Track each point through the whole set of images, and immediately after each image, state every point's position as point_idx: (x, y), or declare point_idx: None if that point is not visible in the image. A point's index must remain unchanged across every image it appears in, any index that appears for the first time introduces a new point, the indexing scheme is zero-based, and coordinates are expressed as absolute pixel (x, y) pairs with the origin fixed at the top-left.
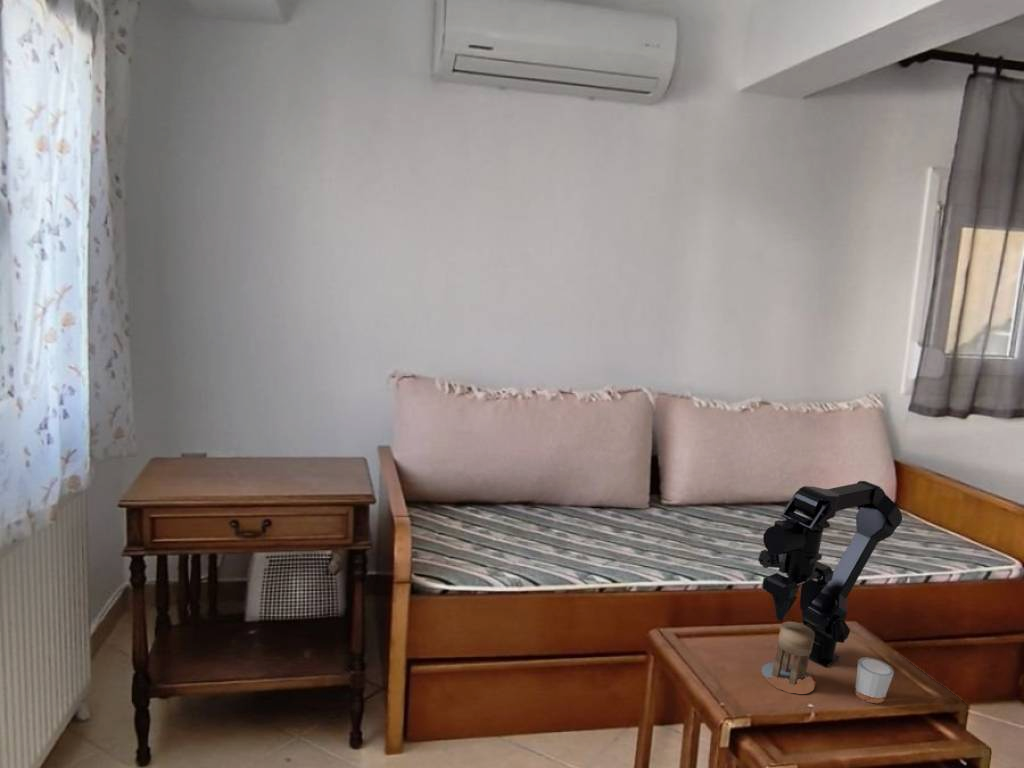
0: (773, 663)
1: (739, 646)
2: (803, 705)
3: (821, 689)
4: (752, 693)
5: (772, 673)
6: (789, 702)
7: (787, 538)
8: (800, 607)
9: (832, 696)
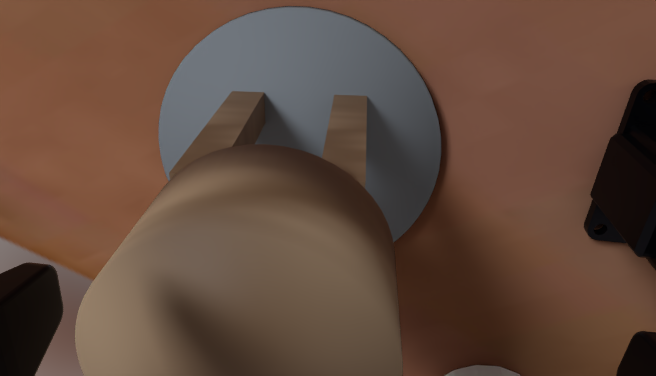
0: (358, 38)
1: None
2: None
3: None
4: (9, 92)
5: (230, 95)
6: (125, 231)
7: None
8: (643, 348)
9: None
